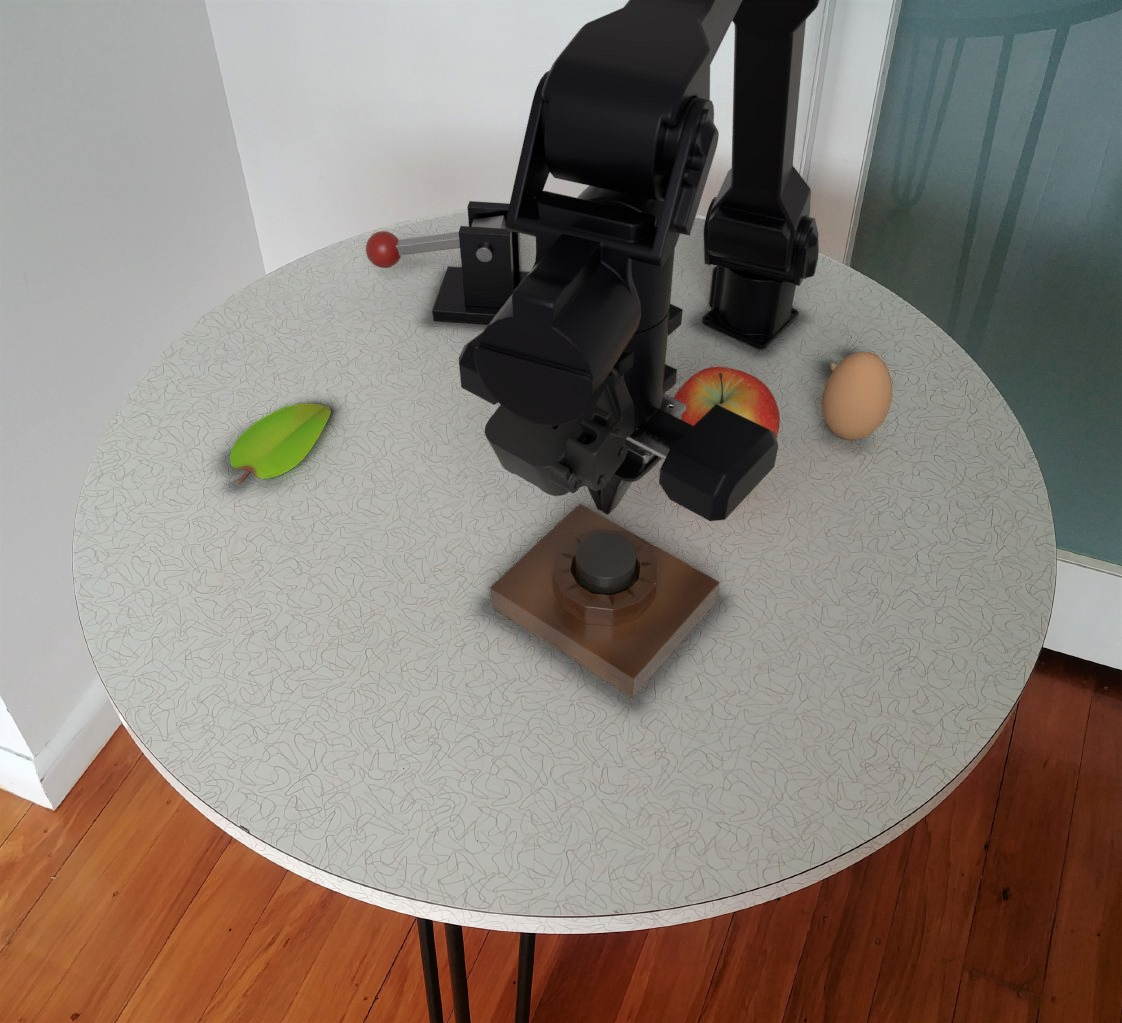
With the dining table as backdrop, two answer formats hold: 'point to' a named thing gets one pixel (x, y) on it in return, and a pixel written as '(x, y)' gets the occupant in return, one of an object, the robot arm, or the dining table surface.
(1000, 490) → the dining table surface
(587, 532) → the button block
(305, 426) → the decorative leaf
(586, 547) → the button
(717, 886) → the dining table surface
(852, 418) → the egg
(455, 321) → the bracket
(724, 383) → the apple
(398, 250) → the switch
